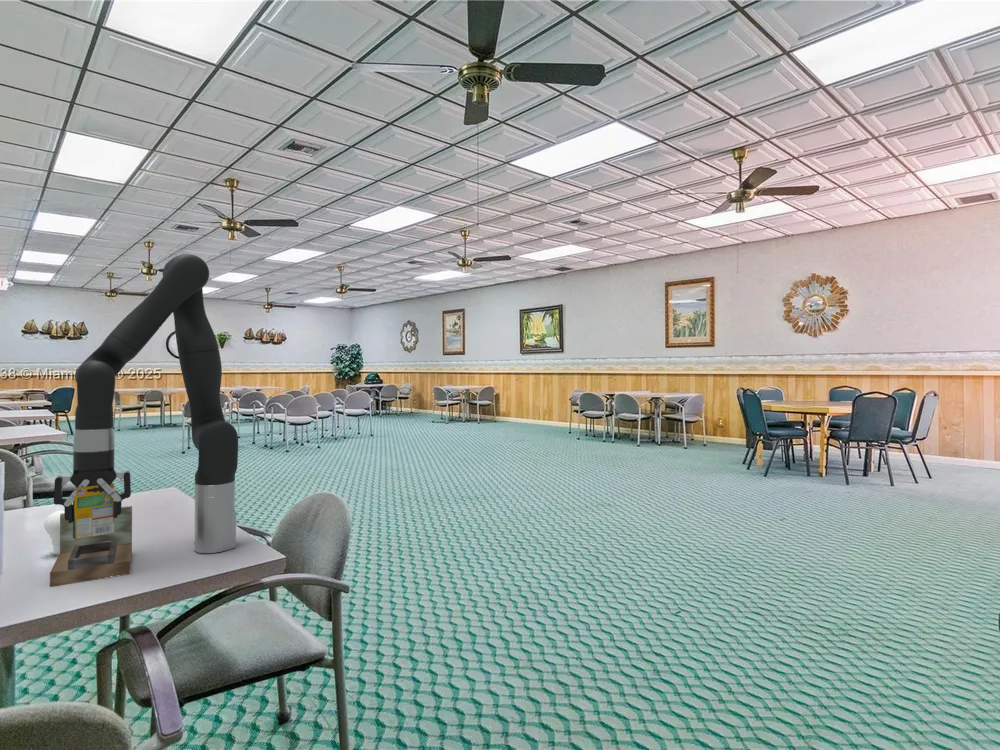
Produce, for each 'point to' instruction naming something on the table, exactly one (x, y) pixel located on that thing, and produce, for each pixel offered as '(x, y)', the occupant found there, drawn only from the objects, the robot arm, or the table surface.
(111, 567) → the display stand
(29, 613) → the table surface
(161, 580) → the table surface
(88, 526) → the crayon box
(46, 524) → the lightbulb
